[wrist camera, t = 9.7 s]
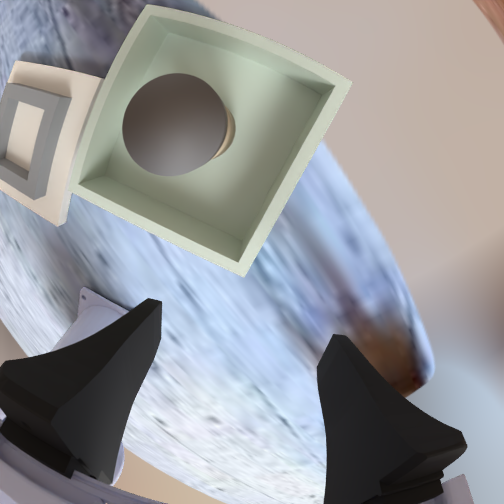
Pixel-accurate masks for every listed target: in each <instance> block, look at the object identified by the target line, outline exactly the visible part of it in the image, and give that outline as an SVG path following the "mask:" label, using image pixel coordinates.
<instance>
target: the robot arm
mask: <svg viewBox="0 0 504 504" xmlns="http://www.w3.org/2000/svg"><path fill="white" fill-rule="evenodd" d="M84 296H85V297H86V298H85V297H84ZM161 320H162V301H158V300H154V299H150V298H148V299H146V300H145V301H143V302H142V303H140V304H139V305H137V306H136V307H135V308H133V309H132V310H130V311H128V310H126V309H124V308H122V307H120V306H118V305H116V304H115V303H113V302H111V301H109V300H107V299H105V298H104V297H102V296H100V295H98V294H97V293H95V292H93V291H91V290H90V289H88V288H86V287H83V288H82V289H81V290H80V297H79V306H78V317H77V319H76V321H75V322H74V323H73V324H72V325H71V327H70V328H69V329H68V330H67V331H66V333H65V334H64V335H63V336H62V338H61V339H60V340H59V341H58V343H57V344H56V345H55V347H54V348H53V349H52V350H51V352H49V353H45V354H42V355H38V356H33V357H29V358H23V359H16V360H8V361H5V362H4V363H3V364H2V366H1V367H0V504H105V503H107V504H166V503H162V502H159V501H155V500H151V499H148V498H144V497H141V496H138V495H135V494H132V493H129V492H126V491H123V490H121V489H118V488H115V487H113V485H114V484H115V483H116V482H117V480H118V478H119V476H120V474H121V472H122V469H123V465H124V447H123V444H122V442H121V441H122V437H123V433H124V430H125V426H126V423H127V420H128V417H129V414H130V410H131V407H132V405H133V402H134V400H135V397H136V395H137V393H138V391H139V389H140V387H141V385H142V383H143V381H144V379H145V376H146V374H147V372H148V370H149V368H150V366H151V364H152V362H153V360H154V358H155V355H156V352H157V349H158V346H159V343H160V340H161ZM317 383H318V391H319V397H320V403H321V408H322V414H323V419H324V425H325V432H326V447H327V471H326V487H325V496H324V504H474V503H473V499H472V496H471V493H470V490H469V487H468V483H467V480H466V478H465V475H464V474H462V475H460V476H457V477H455V478H452V479H450V480H448V481H446V482H444V483H442V484H441V481H440V479H441V478H443V476H444V474H443V471H442V470H443V469H444V468H446V467H447V466H448V465H450V464H451V463H453V462H454V461H455V460H456V459H458V458H459V457H460V456H461V455H462V454H463V453H464V452H465V450H466V449H467V444H466V441H465V439H464V437H463V434H462V432H461V431H459V430H457V429H455V428H453V427H450V426H448V425H446V424H444V423H442V422H440V421H438V420H436V419H434V418H433V417H431V416H429V415H428V414H426V413H425V412H423V411H422V410H420V409H419V408H417V407H416V406H415V405H413V404H412V403H411V402H409V401H408V400H407V399H406V398H404V397H403V396H402V395H401V394H400V393H399V392H397V391H396V390H395V389H394V388H393V387H392V386H391V385H390V384H389V383H388V382H387V381H386V380H385V379H384V378H383V377H382V376H381V375H380V374H379V373H378V372H377V370H376V369H375V368H374V367H373V366H372V365H371V364H370V363H369V361H368V360H367V359H366V358H365V357H364V356H363V354H362V353H361V352H360V351H359V350H358V348H357V347H356V346H355V345H354V344H353V343H352V342H351V340H350V339H349V338H348V337H347V336H345V335H337V334H333V335H332V338H331V340H330V342H329V344H328V346H327V348H326V350H325V352H324V354H323V356H322V358H321V360H320V362H319V364H318V366H317Z"/></svg>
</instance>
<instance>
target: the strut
mask: <svg viewBox="0 0 504 504" xmlns="http://www.w3.org/2000/svg"><path fill="white" fill-rule="evenodd" d="M235 132H236V125H235V120H234V117H233V115H232V113H231V112H230V111H229V109H228V108H227V107H226V106H225V105H224V103H223V101H222V100H221V98H220V96H219V95H218V94H217V93H216V92H215V91H214V89H213V88H212V87H211V86H210V85H209V84H207V83H206V82H205V81H203V80H202V79H200V78H198V77H196V76H193V75H189V74H183V73H172V74H166V75H162V76H159V77H157V78H154V79H153V80H151V81H149V82H148V83H146V84H145V85H143V86H142V87H141V88H140V89H139V90H138V91H137V92H136V93H135V95H134V96H133V97H132V99H131V100H130V102H129V104H128V106H127V108H126V111H125V113H124V118H123V124H122V134H123V140H124V144H125V147H126V149H127V151H128V153H129V155H130V156H131V158H132V159H133V160H134V161H135V162H136V163H137V164H138V165H139V166H140V167H141V168H143V169H144V170H146V171H148V172H150V173H153V174H155V175H160V176H178V175H183V174H186V173H189V172H191V171H193V170H195V169H197V168H199V167H201V166H203V165H204V164H206V163H207V162H208V161H210V160H212V159H214V158H216V157H218V156H220V155H222V154H223V153H224V152H225V151H226V150H227V149H228V148H229V147H230V145H231V144H232V142H233V140H234V137H235Z"/></svg>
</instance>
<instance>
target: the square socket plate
mask: <svg viewBox="0 0 504 504" xmlns="http://www.w3.org/2000/svg"><path fill="white" fill-rule="evenodd" d="M104 80H105V79H103V78H99V77H96V76H92V75H88V74H84V73H80V72H76V71H71V70H67V69H62V68H58V67H53V66H47V65H42V64H36V63H30V62H23V61H15V63H14V66H13V69H12V71H11V74H10V77H9V80H8V82H7V83H6V86H5V89H4V92H3V95H2V99H1V102H0V190H2V191H3V192H4V193H6V194H7V195H9V196H10V197H12V198H13V199H15V200H16V201H18V202H19V203H21V204H22V205H24V206H25V207H27V208H28V209H30V210H32V211H33V212H35V213H36V214H38V215H39V216H41V217H43V218H44V219H46V220H47V221H49V222H51V223H52V224H54V225H56V226H57V227H59V226H60V225H62V224H64V223H66V220H67V214H68V209H69V204H70V200H71V195H72V192H70V191H68V188H69V183H70V179H71V175H72V171H73V167H74V164H75V160H76V157H77V153H78V150H79V146H80V143H81V140H82V137H83V134H84V131H85V128H86V125H87V122H88V120H89V117H90V114H91V111H92V109H93V106H94V104H95V101H96V99H97V96H98V94H99V92H100V89H101V87H102V85H103V82H104Z"/></svg>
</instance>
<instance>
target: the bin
mask: <svg viewBox="0 0 504 504" xmlns="http://www.w3.org/2000/svg"><path fill="white" fill-rule="evenodd" d="M172 73H183V74H189V75H193V76H196V77H198V78H200V79H202V80H203V81H205V82H206V83H207V84H209V85H210V86H211V87H212V88H213V89H214V91H215V92H216V93H217V94H218V95H219V96H220V98H221V100H222V101H223V103H224V105H225V106H226V107H227V108H228V109H229V111H230V112H231V113H232V115H233V117H234V120H235V125H236V132H235V137H234V140H233V142H232V144H231V145H230V147H229V148H228V149H227V150H226V151H225V152H224V153H223V154H222V155H220V156H218V157H216V158H214V159H212V160H210V161H208V162H207V163H206V164H204V165H203V166H201V167H199V168H197V169H195V170H193V171H191V172H189V173H186V174H183V175H178V176H160V175H155V174H153V173H150V172H148V171H146V170H144V169H143V168H141V167H140V166H139V165H138V164H137V163H136V162H135V161H134V160H133V159H132V158H131V156H130V155H129V153H128V151H127V149H126V147H125V144H124V140H123V134H122V124H123V118H124V113H125V111H126V108H127V106H128V104H129V102H130V100H131V99H132V97H133V96H134V95H135V93H136V92H137V91H138V90H139V89H140V88H141V87H142V86H143V85H145V84H146V83H148V82H149V81H151V80H153V79H154V78H157V77H159V76H162V75H166V74H172ZM352 83H353V82H351V81H349V80H348V79H346V78H344V77H343V76H341V75H340V74H338V73H336V72H334V71H333V70H331V69H329V68H328V67H326V66H324V65H322V64H320V63H319V62H316V61H315V60H313V59H311V58H309V57H307V56H305V55H303V54H301V53H299V52H297V51H295V50H293V49H291V48H289V47H287V46H284V45H282V44H280V43H278V42H275V41H273V40H271V39H268V38H266V37H263V36H261V35H259V34H256V33H253V32H251V31H248V30H245V29H243V28H240V27H237V26H234V25H231V24H228V23H225V22H222V21H219V20H215V19H212V18H208V17H205V16H201V15H197V14H194V13H190V12H185V11H181V10H176V9H172V8H167V7H161V6H156V5H149V4H147V5H146V6H145V8H144V9H143V11H142V12H141V14H140V16H139V17H138V19H137V20H136V22H135V24H134V25H133V27H132V28H131V30H130V32H129V34H128V35H127V37H126V39H125V41H124V42H123V44H122V46H121V48H120V50H119V52H118V53H117V55H116V57H115V59H114V61H113V63H112V65H111V67H110V69H109V72H108V74H107V76H106V78H105V80H104V82H103V85H102V87H101V89H100V92H99V94H98V96H97V99H96V101H95V104H94V106H93V109H92V111H91V114H90V117H89V120H88V122H87V125H86V128H85V131H84V134H83V137H82V140H81V143H80V146H79V150H78V153H77V157H76V160H75V164H74V167H73V171H72V175H71V179H70V183H69V188H68V191H70V192H72V193H74V194H76V195H77V196H79V197H81V198H83V199H85V200H87V201H89V202H91V203H93V204H95V205H97V206H99V207H100V208H102V209H104V210H106V211H108V212H110V213H112V214H114V215H116V216H118V217H120V218H122V219H124V220H126V221H128V222H130V223H132V224H134V225H136V226H138V227H140V228H142V229H144V230H146V231H148V232H150V233H152V234H154V235H156V236H158V237H160V238H162V239H164V240H166V241H168V242H170V243H172V244H174V245H176V246H178V247H180V248H183V249H185V250H187V251H189V252H191V253H193V254H195V255H197V256H199V257H201V258H203V259H205V260H208V261H210V262H212V263H214V264H216V265H218V266H220V267H222V268H224V269H227V270H229V271H231V272H233V273H235V274H237V275H239V276H242V277H245V275H246V273H247V271H248V270H249V268H250V266H251V264H252V263H253V261H254V259H255V257H256V256H257V254H258V252H259V250H260V249H261V247H262V245H263V243H264V241H265V240H266V238H267V236H268V234H269V233H270V231H271V229H272V227H273V225H274V224H275V222H276V220H277V218H278V217H279V215H280V213H281V211H282V209H283V208H284V206H285V204H286V202H287V201H288V199H289V197H290V195H291V193H292V192H293V190H294V188H295V186H296V184H297V183H298V181H299V179H300V177H301V176H302V174H303V172H304V170H305V168H306V167H307V165H308V163H309V161H310V159H311V158H312V156H313V154H314V152H315V150H316V149H317V147H318V145H319V143H320V141H321V140H322V138H323V136H324V134H325V132H326V131H327V129H328V127H329V125H330V123H331V122H332V120H333V118H334V116H335V114H336V112H337V111H338V109H339V107H340V105H341V103H342V102H343V100H344V98H345V96H346V94H347V93H348V91H349V89H350V87H351V85H352Z"/></svg>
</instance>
